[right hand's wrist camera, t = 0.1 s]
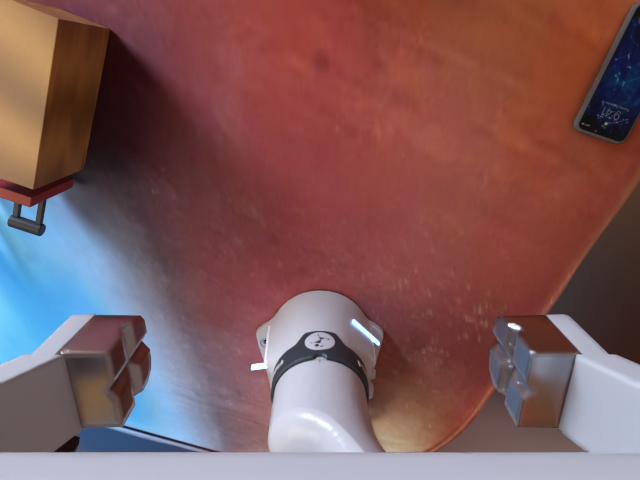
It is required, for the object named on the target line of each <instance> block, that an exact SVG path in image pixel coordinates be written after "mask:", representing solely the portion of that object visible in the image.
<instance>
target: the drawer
mask: <svg viewBox="0 0 640 480" xmlns="http://www.w3.org/2000/svg"><path fill="white" fill-rule="evenodd" d="M73 181H74V179H73V178H70V177H67V176H66V177H63V178H61V179H58V180H56V181H54V182H51V183H49V184H46V185H44V186H42V187H39V188H36V189H34V190H33V189H30V188H27V187H24V186H21V185H18V184H15V183H12V182H9V181H6V180H3V179H0V197H1V198H4V199H7V200H10V201H13V202H14V209H13V215H11V216H10V218H9V219H8V226H10V227H13V228H16V229H19V230H22V231H25V232H28V233H31V234H34V235H37V236H41V235H43V233H44V232H45V229H46V226H45V225H44V224H42V223H43V218H44V212H45V206H46V200H47V199H48V198H51V197H53V196H55V195H57V194H59V193H61V192H63V191H65V190H68V189H70V188H72V186H73ZM36 204H38V209H37V216H36V221H33V220H29V219H26V218H23V217H20V214H21V207H22V205H25V206H28V207H32V206H34V205H36Z"/></svg>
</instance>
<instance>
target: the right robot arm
mask: <svg viewBox="0 0 640 480" xmlns="http://www.w3.org/2000/svg"><path fill="white" fill-rule="evenodd" d="M146 333H147V330H146V325H145V320H144V319H143V318H142V317H141V316H136V315H95V314H90V315H73V316H70V317H69V318H68V319H67V320H66V321H65V322H64V323H63V324H62V325H61V326H60V327H59V328H58V329H57V330H56V331H55V332H54V333H53V334H52V335H51V336H50V337H49V338H48V339H47V340H46V341H45V342H44V343H43V344H42V345H41V346H39V347H38V348H37V349H36V350H35V351H34V352H33V353H32V354H31V355H22V356H20V357H17V358H15V359H13V360H10V361H8V362H6V363H3V364H1V365H0V480H640V365H639V364H637V363H634V362H632V361H630V360H627V359H625V358H623V357H620V356H618V355H609V354H608V353H607V352H606V351H605V350H604V349H603V348H602V347H601V346H600V345H598V344H597V343H596V342H595V341H594V340H593V339H592V338H591V337H590V336H589V335H588V334H587V333H586V332H585V331H584V330H583V329H582V328H581V327H580V326H579V325H578V324H577V323H576V322H575V321H574V320H573V319H572V318H571V317H570V316H567V315H564V314H559V315H522V316H498V317H497V319H496V321H495V324H494V330H493V333H494V335H495V336H496V338H497V339H498V342H497V343H496V344H495V345H494V346H493V347H492V348H491V349H490V356H489V369H490V376H491V379H492V382H493V384H494V386H495V388H496V390H497V391H499V392H500V393H502V394H504V395H505V396H506V399H505V406H506V408H507V410H508V411H509V413H510V415H511V417H512V418H513V420H514V422H515V424H516V425H517V427H540V428H558V430H559V431H560V432H561V433H563V434H564V435H565V436H567V437H568V438H569V439H570V440H572V441H573V442H574V443H576V444H577V445H578V446H580V447H581V448H582V449H583V450H585V451H586V452H385V451H384V449H383V448H382V446H381V445H380V443H379V442H378V440H377V438H376V436H375V434H374V430H373V427H372V423H371V419H370V415H369V409H368V401H369V399H372V398H373V393H374V384H373V383H372V382H370V381H371V379H375V376H376V370H375V369H374V368H375V364H376V361H377V357H378V354H379V351H380V347H381V344H382V340H383V329H382V328H381V327H380V326H379V325H377V324H376V323H374V322H372V321H370V320H369V319H368V318H367V317H366V316H365V315H364V313H363V312H362V311H361V309H360V308H359V307H358V306H357V305H356V304H355V303H354V302H353V301H352V300H350V299H349V298H347V297H345V296H343V295H341V294H338V293H335V292H331V291H309V292H305V293H302V294H299V295H297V296H295V297H293V298H291V299H290V300H288V301H287V302H286V303H285V304H284V305H283V306H282V307H281V308H280V309H279V310H278V312H277V313H276V315H275V316H274V317H273V318H272V319H271V320H269V321H268V322H266V323H264V324H263V325H261V326H260V327H259V328H258V329H257V335H256V336H257V340H258V344H259V347H260V351H261V354H262V358H263V361H264V363H260V364H253V365H252V367H251V370H257V369H264V368H266V371H267V375H268V378H269V382H270V385H271V401H272V412H271V419H270V426H269V434H268V446H269V451H270V452H54V451H55V450H57V449H58V448H59V447H61V446H62V445H63V444H65V443H66V442H67V441H68V440H70V439H71V438H72V437H74V436H75V435H76V434H77V433H79V432H80V431H81V430H82V428H100V427H123V426H124V424H125V422H126V420H127V418H128V417H129V415H130V413H131V411H132V410H133V408H134V406H135V399H134V396H135V395H137V394H138V393H140V392H141V391H143V390H144V388H145V386H146V384H147V382H148V379H149V375H150V370H151V355H150V349H149V348H148V347H147V346H146V345H145V344H144V343H143V342H142V339H143V338H144V336H145V335H146ZM264 340H266V341H264Z"/></svg>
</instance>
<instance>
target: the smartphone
mask: <svg viewBox="0 0 640 480" xmlns="http://www.w3.org/2000/svg"><path fill="white" fill-rule="evenodd" d="M639 116H640V2H637V3H635V4H634V5H633V6H632V7H631V8H630V10H629V12H628V14H627V16H626V18H625V20H624V22H623V24H622V26H621V28H620V30H619V32H618V34H617V36H616V38H615V40H614V42H613V44H612V46H611V48H610V50H609V52H608V54H607V56H606V58H605V60H604V62H603V64H602V66H601V68H600V70H599V72H598V74H597V76H596V78H595V80H594V82H593V84H592V86H591V87H590V89H589V91H588V93H587V95H586V97H585V99H584V102H583V104H582V106H581V108H580V110H579V112H578V114H577V116H576V118H575V120H574V123H573V126H574V129H575V130H576V131H578V132H581V133H584V134H587V135H589V136H592V137H595V138H598V139H601V140H604V141H607V142H610V143H613V144H621V143H623V142H624V141H625V140H626V139H627V137H628V136H629V134H630V132H631V130H632V128H633V127H634V125H635V123H636V121H637V119H638V117H639Z"/></svg>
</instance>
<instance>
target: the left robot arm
mask: <svg viewBox="0 0 640 480" xmlns="http://www.w3.org/2000/svg"><path fill="white" fill-rule="evenodd" d="M78 444H79V437H77V436H74V437H72V438H71V439H70V440H68V441H67V442H66V443H65V444H63V445H62V446H61V447H59V448H58V449H57V450H55V451H54V452H76V449H77V447H78Z"/></svg>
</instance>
